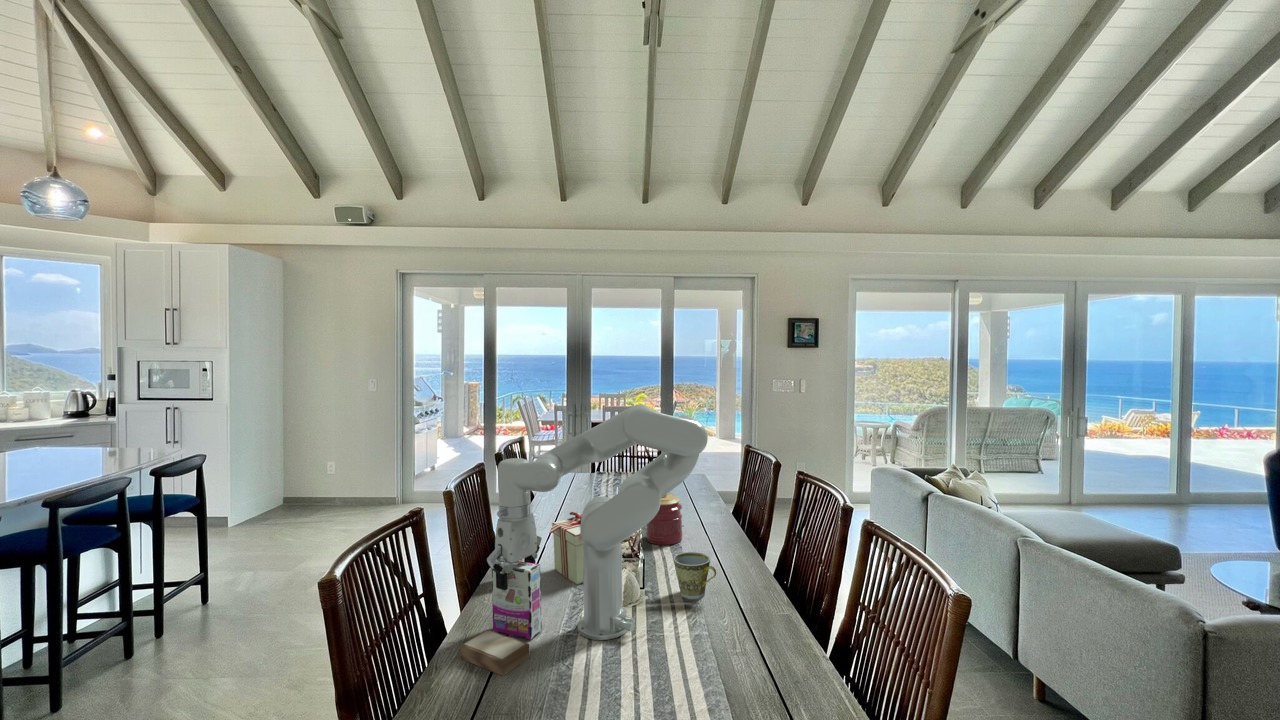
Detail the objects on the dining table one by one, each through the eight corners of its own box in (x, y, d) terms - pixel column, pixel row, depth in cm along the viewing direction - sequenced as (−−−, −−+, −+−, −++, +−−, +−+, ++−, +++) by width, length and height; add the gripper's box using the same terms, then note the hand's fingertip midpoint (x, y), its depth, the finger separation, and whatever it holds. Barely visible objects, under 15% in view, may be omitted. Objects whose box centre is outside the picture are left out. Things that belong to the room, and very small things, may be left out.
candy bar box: (542, 630, 134) (541, 563, 134) (531, 640, 129) (529, 571, 129) (504, 622, 138) (503, 557, 138) (491, 632, 133) (490, 565, 133)
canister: (659, 531, 206) (658, 484, 206) (689, 537, 198) (688, 488, 198) (638, 541, 195) (638, 491, 195) (669, 548, 188) (668, 496, 188)
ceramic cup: (666, 595, 152) (666, 559, 152) (689, 583, 159) (688, 549, 159) (705, 609, 143) (704, 571, 143) (726, 596, 151) (726, 560, 150)
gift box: (542, 573, 169) (541, 517, 168) (591, 557, 181) (590, 505, 181) (573, 591, 156) (572, 530, 156) (624, 572, 168) (623, 516, 168)
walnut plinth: (529, 657, 122) (529, 643, 122) (502, 675, 115) (502, 660, 115) (488, 641, 129) (487, 628, 129) (460, 658, 122) (460, 644, 122)
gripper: (499, 522, 124) (500, 599, 124) (550, 503, 138) (552, 572, 139) (476, 517, 128) (477, 591, 128) (528, 500, 142) (529, 566, 143)
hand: (516, 581), depth 133 cm, fingers open, 9 cm apart
